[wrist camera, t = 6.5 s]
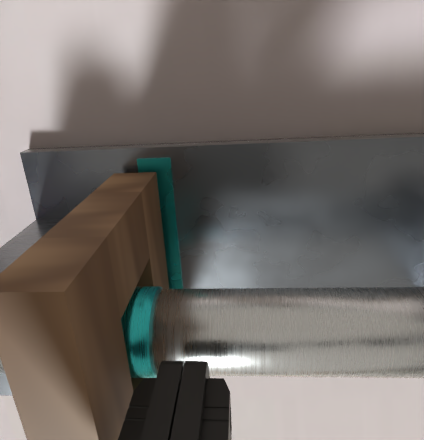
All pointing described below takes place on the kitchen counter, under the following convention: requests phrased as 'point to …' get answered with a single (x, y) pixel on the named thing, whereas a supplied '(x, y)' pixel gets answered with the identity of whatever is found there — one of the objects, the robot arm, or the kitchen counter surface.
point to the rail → (265, 252)
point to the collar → (81, 311)
